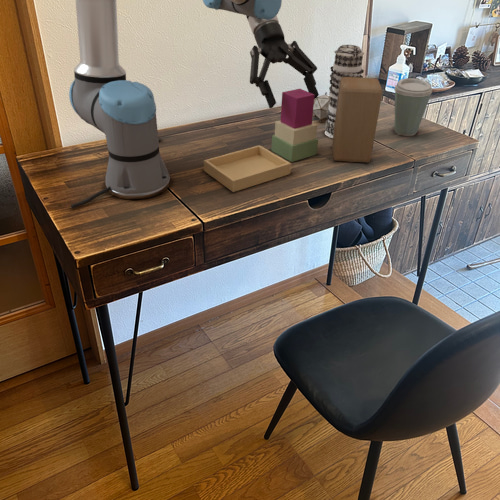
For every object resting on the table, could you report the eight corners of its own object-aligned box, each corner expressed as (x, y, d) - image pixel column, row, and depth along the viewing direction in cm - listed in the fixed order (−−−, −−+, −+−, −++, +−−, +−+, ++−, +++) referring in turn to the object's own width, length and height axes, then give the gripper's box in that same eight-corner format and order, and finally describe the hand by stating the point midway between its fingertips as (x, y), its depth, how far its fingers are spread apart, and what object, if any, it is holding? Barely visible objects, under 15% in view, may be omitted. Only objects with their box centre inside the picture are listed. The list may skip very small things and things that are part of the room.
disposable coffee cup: (429, 137, 146) (441, 87, 137) (396, 140, 144) (407, 89, 135) (411, 124, 154) (421, 76, 145) (380, 127, 152) (389, 78, 143)
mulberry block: (294, 128, 127) (296, 98, 122) (280, 121, 131) (282, 92, 126) (311, 124, 130) (314, 94, 125) (297, 117, 134) (299, 88, 129)
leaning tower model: (347, 142, 142) (359, 52, 127) (318, 135, 146) (327, 47, 131) (358, 132, 148) (372, 45, 134) (331, 126, 152) (341, 41, 138)
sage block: (291, 162, 130) (292, 146, 128) (271, 150, 136) (272, 135, 134) (316, 154, 135) (318, 139, 132) (296, 143, 140) (297, 128, 138)
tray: (233, 192, 116) (233, 180, 114) (204, 170, 125) (203, 160, 123) (290, 174, 124) (291, 163, 123) (259, 155, 133) (259, 145, 132)
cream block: (293, 145, 128) (294, 130, 126) (274, 135, 133) (275, 121, 131) (315, 139, 132) (317, 124, 130) (297, 129, 137) (298, 115, 135)
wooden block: (366, 149, 138) (378, 77, 127) (370, 164, 130) (383, 89, 118) (331, 147, 139) (340, 75, 127) (332, 162, 131) (342, 87, 119)
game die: (319, 128, 160) (325, 98, 161) (339, 126, 154) (345, 95, 154) (301, 119, 155) (307, 88, 155) (321, 116, 148) (327, 84, 148)
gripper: (230, 24, 122) (259, 101, 120) (311, 16, 132) (339, 87, 130) (220, 42, 128) (248, 116, 127) (298, 33, 139) (325, 101, 137)
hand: (294, 101), depth 128 cm, fingers open, 13 cm apart
